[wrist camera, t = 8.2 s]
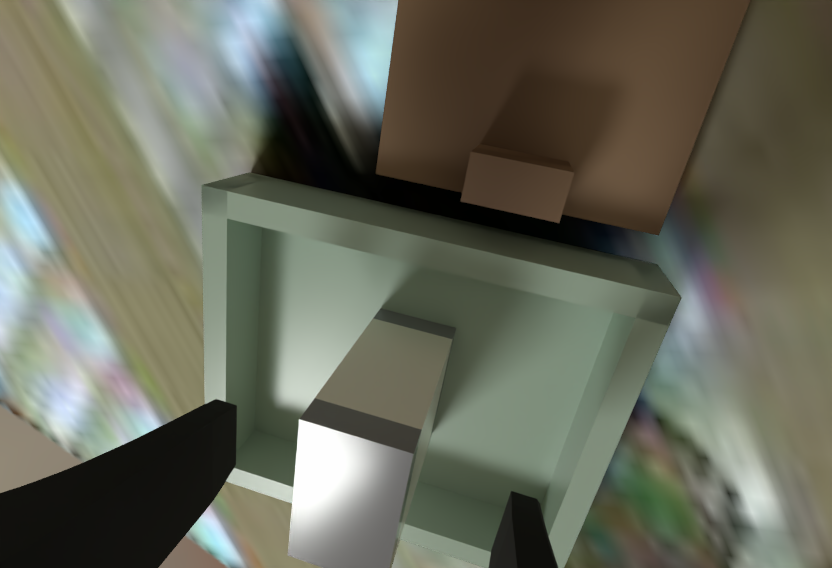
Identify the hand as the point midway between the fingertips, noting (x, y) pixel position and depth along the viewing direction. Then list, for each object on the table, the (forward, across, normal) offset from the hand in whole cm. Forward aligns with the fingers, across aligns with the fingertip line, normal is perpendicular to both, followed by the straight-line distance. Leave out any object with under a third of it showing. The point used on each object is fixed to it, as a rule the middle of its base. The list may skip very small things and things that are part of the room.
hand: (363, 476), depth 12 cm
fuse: (+5, 0, 0) cm, 5 cm away
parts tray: (+6, 0, 0) cm, 6 cm away
